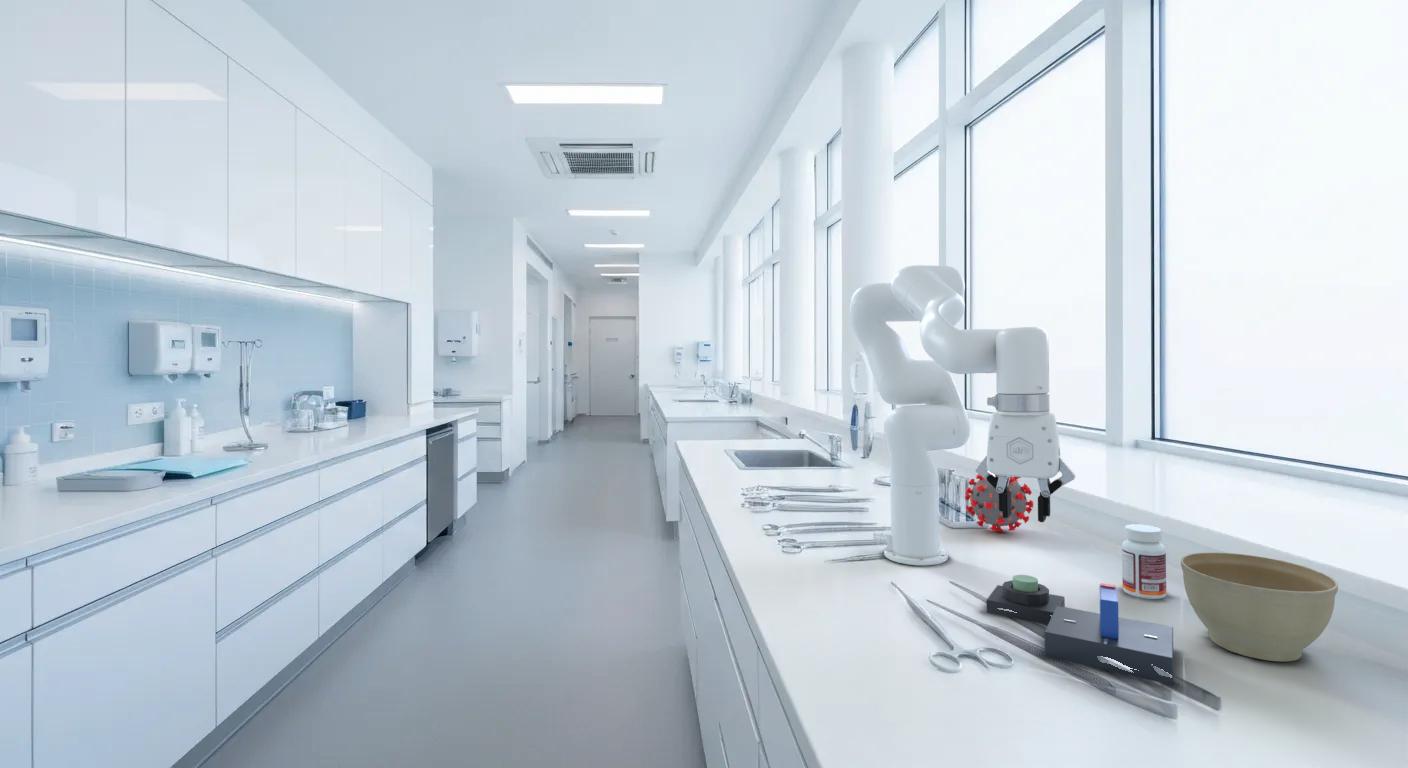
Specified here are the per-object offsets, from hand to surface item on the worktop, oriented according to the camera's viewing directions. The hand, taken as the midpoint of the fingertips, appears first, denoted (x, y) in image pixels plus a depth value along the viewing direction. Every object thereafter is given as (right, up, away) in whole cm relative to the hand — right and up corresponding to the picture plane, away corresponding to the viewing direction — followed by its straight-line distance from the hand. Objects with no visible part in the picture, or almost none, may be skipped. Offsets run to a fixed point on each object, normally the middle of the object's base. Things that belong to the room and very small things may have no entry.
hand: (1024, 517), depth 100 cm
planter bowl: (+25, -15, -14) cm, 32 cm away
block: (0, -15, 0) cm, 15 cm away
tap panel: (+4, -16, -15) cm, 22 cm away
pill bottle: (+24, -15, +7) cm, 29 cm away
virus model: (+18, -14, +47) cm, 52 cm away
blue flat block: (+4, -12, -15) cm, 20 cm away
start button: (0, -12, 0) cm, 12 cm away
